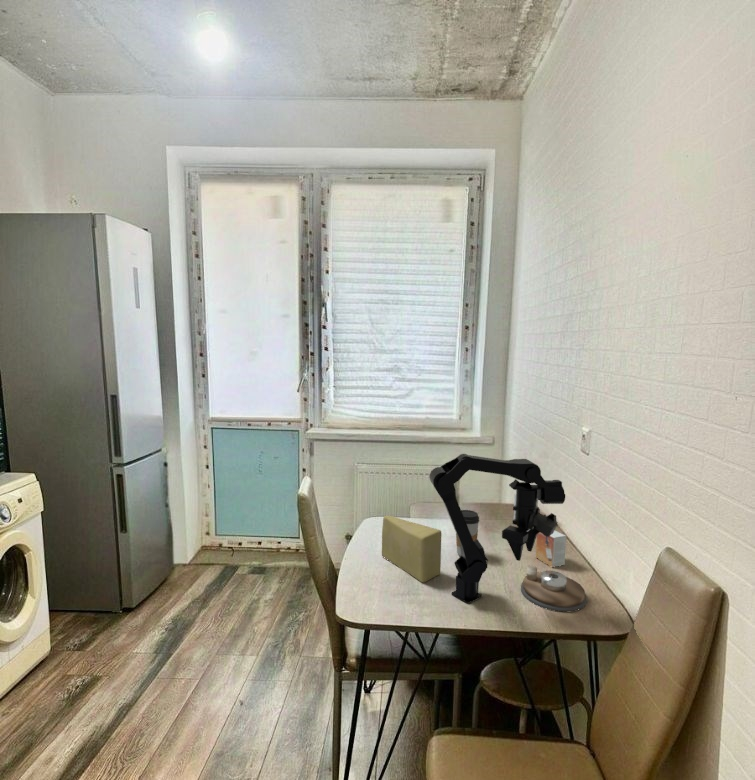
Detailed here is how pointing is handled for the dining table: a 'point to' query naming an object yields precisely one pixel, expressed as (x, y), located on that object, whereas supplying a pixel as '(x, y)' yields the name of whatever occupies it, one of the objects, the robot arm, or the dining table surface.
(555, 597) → the lazy susan
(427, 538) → the cheese
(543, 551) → the small box
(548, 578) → the cast cover
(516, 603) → the dining table surface
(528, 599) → the turntable base
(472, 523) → the coffee cup
